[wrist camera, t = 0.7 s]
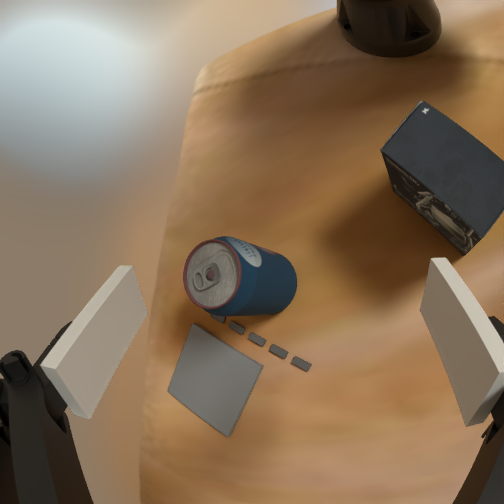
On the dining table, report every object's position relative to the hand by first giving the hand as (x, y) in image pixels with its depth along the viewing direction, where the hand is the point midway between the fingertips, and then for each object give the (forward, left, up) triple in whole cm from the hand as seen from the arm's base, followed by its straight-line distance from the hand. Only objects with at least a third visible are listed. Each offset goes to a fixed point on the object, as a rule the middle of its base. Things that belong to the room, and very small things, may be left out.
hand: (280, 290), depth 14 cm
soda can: (+2, -10, -21) cm, 23 cm away
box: (-13, +5, -21) cm, 25 cm away
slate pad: (+17, -13, -21) cm, 30 cm away
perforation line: (+9, -9, -21) cm, 24 cm away
